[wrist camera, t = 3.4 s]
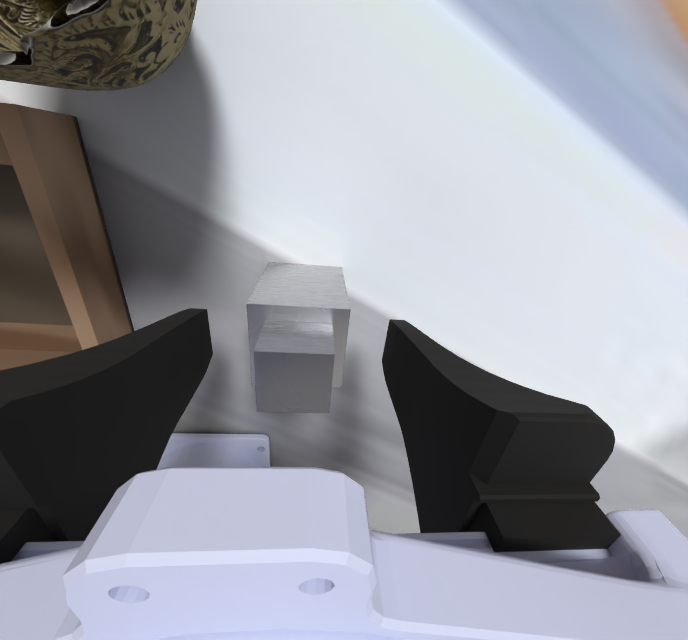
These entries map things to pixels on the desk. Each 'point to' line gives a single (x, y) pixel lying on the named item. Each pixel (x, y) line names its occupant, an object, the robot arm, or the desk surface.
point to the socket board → (52, 243)
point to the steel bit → (297, 336)
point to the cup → (91, 41)
